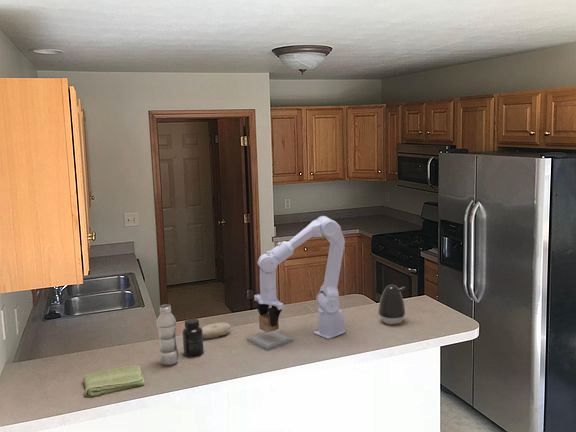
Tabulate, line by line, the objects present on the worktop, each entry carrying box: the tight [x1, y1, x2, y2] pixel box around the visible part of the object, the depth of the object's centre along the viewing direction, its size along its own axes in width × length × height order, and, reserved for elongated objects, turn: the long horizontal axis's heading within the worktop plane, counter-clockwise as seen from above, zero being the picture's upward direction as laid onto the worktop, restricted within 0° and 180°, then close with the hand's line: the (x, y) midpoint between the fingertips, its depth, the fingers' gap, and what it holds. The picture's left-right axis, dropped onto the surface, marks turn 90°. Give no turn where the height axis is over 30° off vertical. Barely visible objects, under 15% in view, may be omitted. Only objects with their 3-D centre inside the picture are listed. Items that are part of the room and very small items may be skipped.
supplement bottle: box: [182, 318, 205, 358], centre depth 187 cm, size 7×7×12 cm
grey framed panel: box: [246, 330, 294, 351], centre depth 197 cm, size 12×12×1 cm
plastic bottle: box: [156, 303, 180, 366], centre depth 180 cm, size 6×7×20 cm
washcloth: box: [82, 364, 145, 398], centre depth 168 cm, size 13×18×3 cm
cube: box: [258, 312, 280, 332], centre depth 196 cm, size 5×5×5 cm
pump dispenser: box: [378, 284, 406, 325], centre depth 211 cm, size 10×10×15 cm
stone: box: [201, 322, 232, 339], centre depth 203 cm, size 6×6×12 cm
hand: (269, 323), depth 196 cm, fingers closed on cube, 5 cm apart
